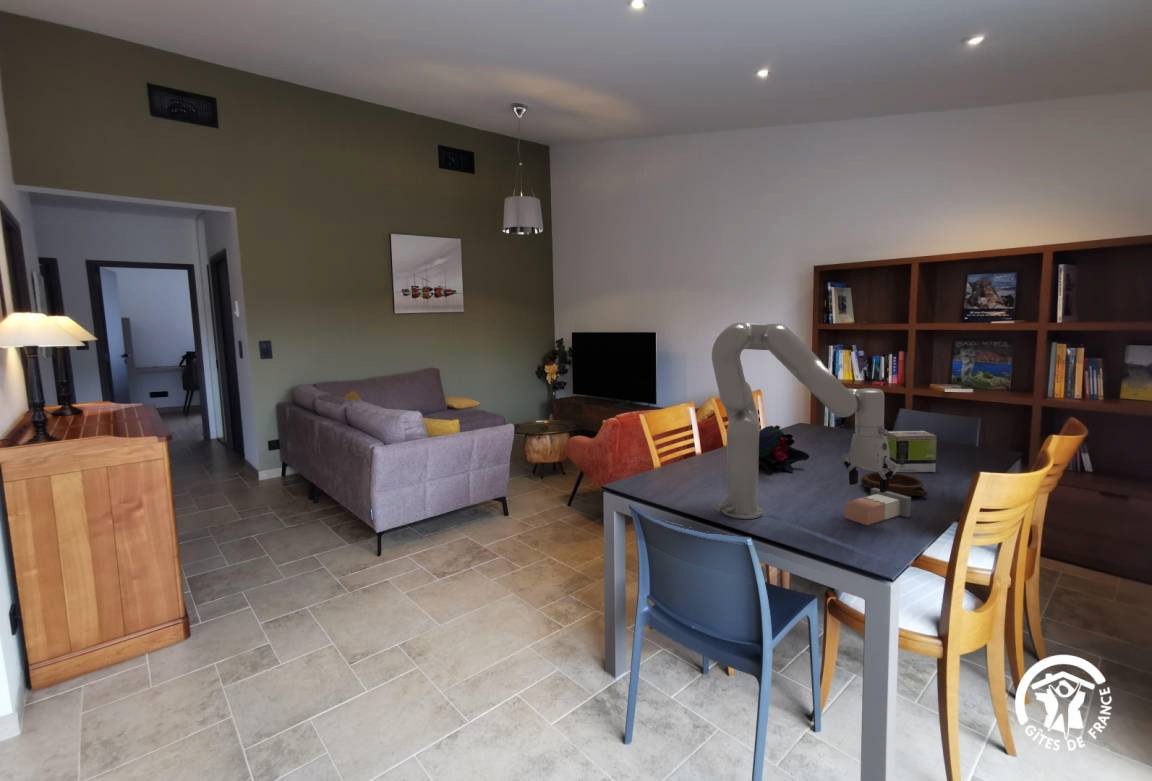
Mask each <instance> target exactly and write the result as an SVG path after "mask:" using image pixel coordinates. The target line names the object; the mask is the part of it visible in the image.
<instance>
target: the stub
mask: <svg viewBox="0 0 1152 781" xmlns="http://www.w3.org/2000/svg"><path fill="white" fill-rule="evenodd" d="M864 497H865V496H864ZM864 497H863V496H862V497H859V498H855V499H852V500H848V501H846V502H845V515H844V516H845V519H847V520H850V521H853V522H856V523H859V524H862V525H865V526H870V525H872V524H876V523H878V522H881V521H882V522H883V521H885V520H884V509H885V504H884V503H882V502H878V501H874V500H871V499H867V498H864Z"/></svg>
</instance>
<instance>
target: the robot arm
mask: <svg viewBox="0 0 1152 781" xmlns="http://www.w3.org/2000/svg"><path fill="white" fill-rule="evenodd" d="M743 350H755V351H758V350H759V351H769V353H771V354H772V355H773V356H774V357H775V358H776V359H777V360H778V361H779V362H780V363H781V364H782V365H783V367H785V368H786V369H787V370H788V371H789V372H790V373H791V374H792V375H793V377H795V378H796V379H797V380H798V382H800V383H801V384H802V385H804V386H805V387H806V388H807V390H809V392H811V393H812V395H814V396H815V397H816V398H817V399H818V400H819V401H820V402H821V403H822V404H823V405H824V406H825V407H826V408H827V409H828V410H829V412H831V413H832V414H833V415H834V416H836V417H839V418H848V417H850V416H852V415H854V433H853V434H852V438H851V443H850V451H849V452H847V453H844V454H842V455H840V456H841V459H842V461H843V466H845V468H846V470H847V471H846V472H848V481H849V482H848V483H849V485H851V486H853V485H856V484H858V483H859V471H858V470H857V469H863V470H867V471H871V472H878V473H879V474H880V476H881V477H882V479H880V492H881V493H883V492H887V491H888V490H889V478H891V477H892V476H893V475H894V474H895V473H897V472H896V471H897V470H898V468H899V466H898V465H897V464H896V463H894V462H893V461H891V460H890V453H889V445H888V440H887V437H886V434H887V432H888V431H889V430H888V429H885V393H884V391H883V389H880V388H874V387H873V388H872V387H871V388H870V387H869V388H868V387H867V388H859V389H857V388H848V387H846V386H845V385H844V384H843V383H842V382H841V381H840V380H839V379H838V378H837V377H836V376H835V375H834V374H833V373H832V372H831V371H830V370H829V369H828V368H827V367H826V366H825V364H824V363H823V361H822V360H821V358H819V357H818V356H817V355H816V353H814V352H813V351H812V350H811V349H810V348H809V347H808V346H807V345H806V344H805V343H804V342H803V341H802V340H801V339H800V338H799V337H798V336H797V335H796V334H795V333H794V332H793V331H792V330H791V329H790V328H788V327H787V326H786V325H785V324H782V323H757V322H755V323H754V322H735V323H732V324H730V325H729V326H727V327H726V328H724V330H722V331H721V332H720V333H719V335H718V336H717V337H716V339H715V341H714V343H713V346H712V349H711V363H712V367H713V371H714V376H715V381H716V385H717V389H718V394H719V399H720V402H721V405H722V406H723V407H724V409H725V413H726V417H727V421H728V423H727V428H726V498H723V502H722V503H719V504H716V505H715V506H714V507H715V510H716V511H717V512H720V511H721V512H722V514H723V515H725V516H728V517H730V518H734V519H740V520H741V519H742V520H750V519H757V518H760V517H761V516H763V512H764V510H763V508H761V506H759V505H758V504H759V463H758V461H759V431H760V430H761V429H760V428H761V427H760V420H759V416H758V411H757V408H756V405H755V404H756V402H755V399H754V395H753V391H752V387H751V386H750V385H749V383H748V382H747V381H746V378H745V374H744V368H743V365H742V362H741V361H742V360H741V354H742V352H743ZM890 467H891V469H889V468H890Z"/></svg>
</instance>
